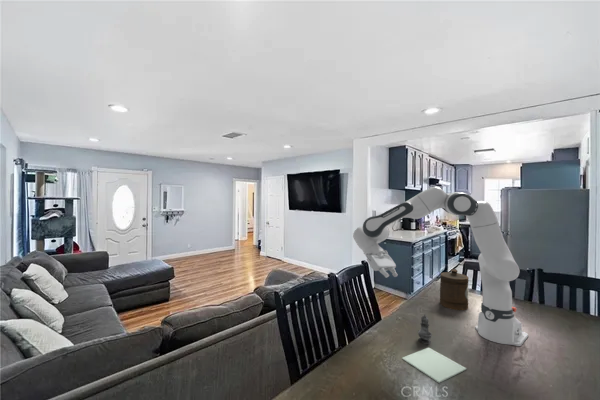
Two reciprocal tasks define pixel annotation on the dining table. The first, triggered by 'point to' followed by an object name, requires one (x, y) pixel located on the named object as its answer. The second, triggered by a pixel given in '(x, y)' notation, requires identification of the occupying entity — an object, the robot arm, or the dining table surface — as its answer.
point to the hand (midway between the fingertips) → (392, 276)
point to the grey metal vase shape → (424, 331)
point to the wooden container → (454, 290)
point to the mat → (434, 364)
